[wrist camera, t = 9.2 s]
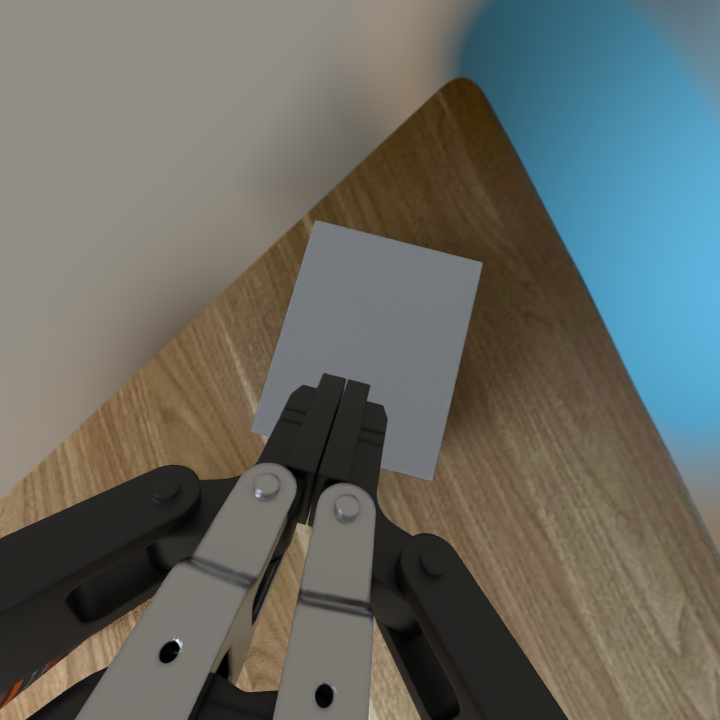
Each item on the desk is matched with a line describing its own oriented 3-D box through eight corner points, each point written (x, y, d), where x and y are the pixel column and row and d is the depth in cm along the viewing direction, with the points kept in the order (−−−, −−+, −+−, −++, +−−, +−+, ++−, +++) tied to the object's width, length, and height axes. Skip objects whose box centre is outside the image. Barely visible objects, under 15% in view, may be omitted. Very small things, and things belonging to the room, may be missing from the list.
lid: (316, 225, 25) (315, 218, 24) (479, 267, 25) (483, 262, 24) (253, 431, 23) (249, 431, 22) (430, 479, 23) (433, 482, 22)
